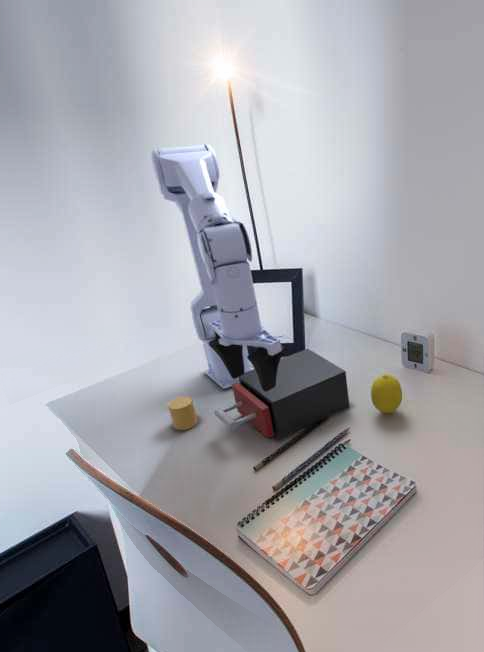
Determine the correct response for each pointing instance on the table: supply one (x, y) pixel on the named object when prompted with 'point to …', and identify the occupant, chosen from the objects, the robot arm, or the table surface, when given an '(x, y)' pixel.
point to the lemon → (386, 393)
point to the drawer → (248, 410)
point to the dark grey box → (302, 391)
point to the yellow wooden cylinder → (182, 413)
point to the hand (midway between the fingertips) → (253, 382)
